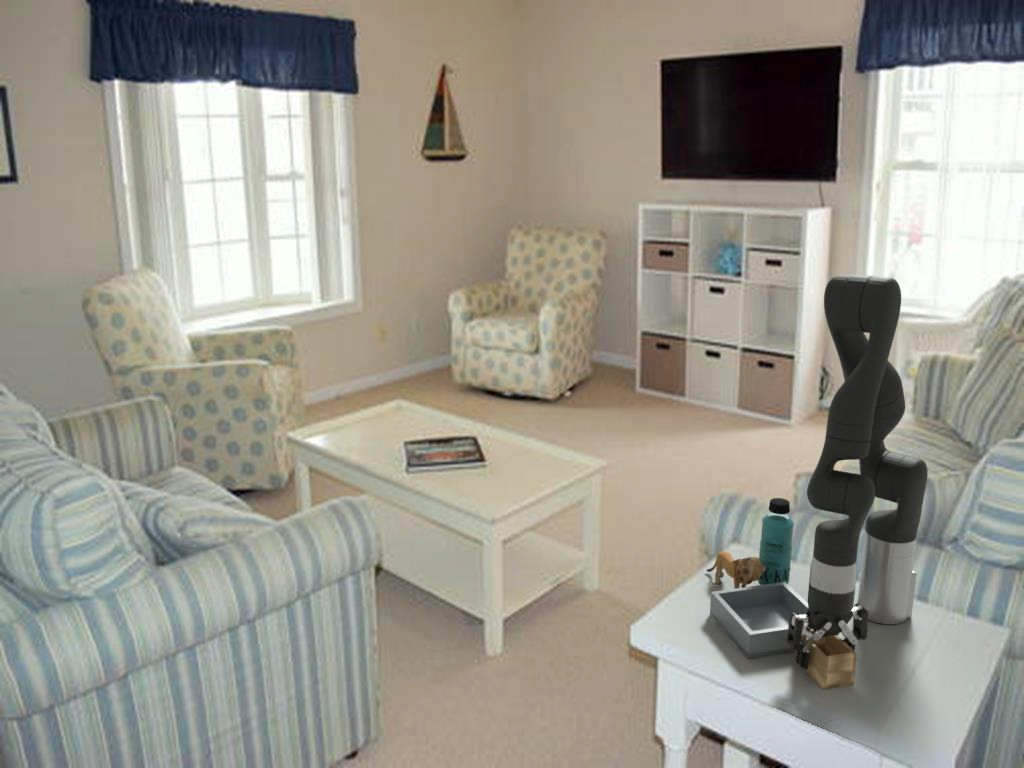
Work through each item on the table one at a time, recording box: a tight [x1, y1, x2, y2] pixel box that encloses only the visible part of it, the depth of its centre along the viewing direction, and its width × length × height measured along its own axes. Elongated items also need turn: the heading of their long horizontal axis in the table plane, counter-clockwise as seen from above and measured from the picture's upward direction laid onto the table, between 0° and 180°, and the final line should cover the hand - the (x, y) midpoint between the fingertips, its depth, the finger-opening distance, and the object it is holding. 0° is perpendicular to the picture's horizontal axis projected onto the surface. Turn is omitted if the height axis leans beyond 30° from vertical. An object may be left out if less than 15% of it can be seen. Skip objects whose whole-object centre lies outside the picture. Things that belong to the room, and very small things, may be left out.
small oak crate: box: [795, 629, 858, 690], centre depth 161 cm, size 6×9×6 cm, turn 13°
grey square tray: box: [709, 582, 808, 660], centre depth 175 cm, size 16×16×5 cm
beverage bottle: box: [757, 497, 795, 585], centre depth 188 cm, size 6×7×20 cm
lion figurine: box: [706, 550, 766, 589], centre depth 191 cm, size 15×5×9 cm, turn 34°
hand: (824, 663), depth 162 cm, fingers open, 8 cm apart
